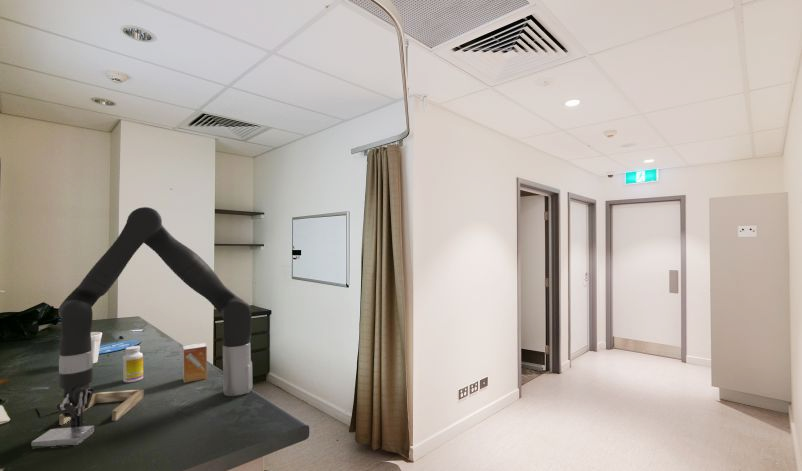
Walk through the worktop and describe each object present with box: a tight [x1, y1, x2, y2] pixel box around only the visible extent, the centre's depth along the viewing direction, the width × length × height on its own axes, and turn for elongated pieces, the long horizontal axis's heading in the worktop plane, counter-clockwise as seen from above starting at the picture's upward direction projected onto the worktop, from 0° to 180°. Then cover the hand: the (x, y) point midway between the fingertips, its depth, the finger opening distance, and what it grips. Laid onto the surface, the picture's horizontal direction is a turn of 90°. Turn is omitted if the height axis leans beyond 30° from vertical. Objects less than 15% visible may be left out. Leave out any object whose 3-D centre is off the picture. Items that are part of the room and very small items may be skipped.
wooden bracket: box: [58, 388, 145, 426], centre depth 125 cm, size 15×17×3 cm
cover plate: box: [30, 425, 95, 446], centre depth 107 cm, size 11×7×2 cm, turn 99°
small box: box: [182, 342, 208, 384], centre depth 152 cm, size 8×6×13 cm
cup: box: [91, 331, 103, 364], centre depth 174 cm, size 10×10×13 cm
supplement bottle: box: [122, 345, 144, 383], centre depth 152 cm, size 7×7×13 cm
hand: (77, 427), depth 112 cm, fingers closed
